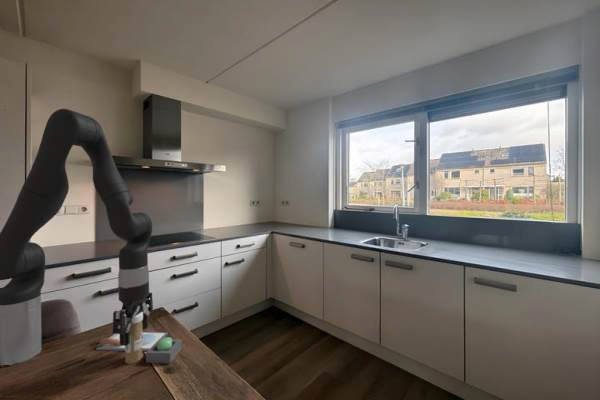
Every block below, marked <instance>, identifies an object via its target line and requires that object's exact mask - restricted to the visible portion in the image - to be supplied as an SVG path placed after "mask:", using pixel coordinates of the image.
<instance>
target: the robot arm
mask: <svg viewBox="0 0 600 400" xmlns="http://www.w3.org/2000/svg"><path fill="white" fill-rule="evenodd" d="M42 133H43V134H42V136H41V140H40V143H39V147H38V151H37V152H36V156H35V158H34V160H33V163H32V165H31V168H30V171H29V173H28V175H27V177H26V179H25V181H24V183H23V185H22V187H21V189H20V192H19V193H18V195H17V199H16V201H15V203H14V205H13V208H12V209H11V211H10V214H9V216H8V218H7V220H6V222H5V224H4V226H3V228H2V229H1V231H0V281H5V280H10V279H11V280H10V281H8V282H7V283H6V284H5V286H3V287H2V288H0V365H1V366H0V367H4V366H3V365H9V366H13V365H17V364H20V363H23V362H26V361H28V360H30V359H32V358H34V357H35V356H37V355H39V354H40V353H41V351H42V350H43V349H42V288H43V287H44V284H45V272H46V255H45V251H44V249H43V248H42V246H41V245H40V244H38V243H37V242H30V240H31V239H32V237H33V236H34V235H35V234H36V233H37V232H39V230H40V229H42V228H43V227H45V225H46V224H47V223H48V222H50V221H51V220H52V219H53V218H54V217H55V216H56V215H57V214H58V213H59V212H60V210H61V208H62V207H63V205H64V203H65V200H66V198H67V196H68V193H69V189H70V187H69V185H70V184H69V179H68V175H67V169H66V163H67V159H68V157H69V154H70V151H71V150H72V148H73V147H74V146H75V147H81V148H82V149H83V151H84V152H85V153H86V154H87V156H88V158H89V160H90V162H91V165H92V182H93V185H94V189H95V190H96V193H97V194H98V196H99V198H100V200H101V202H102V203H103V205H104V206H105V210H106V215H107V219H108V223H109V224H108V225H109V227H110V230H111V231H112V233H113V234H114V235H115V236H116V237H118V238H119V239H122V240H126V243H125V245H124V246H122V247H121V248H120V249H119V252H118V276H117V280H118V283H117V284H118V286H117V287H118V290H117V291H118V292H117V293H118V301H119V302H121V303H122V307H121V309H119V310H114V311H113V313H112V335H114V334H120V345H121V346H127V345H128V344H129V343H130V331H129V329H130V326H131V324H132V323H134V320H135V317H136V316H137V315H138V314H139V313H141V312H142V313H143V320H142V330H146V329H148V328H149V317H150V313H151V312H152V311H153V310H154V304H153V292H150V271H149V265H148V261H149V259H148V257H149V256H148V251H149V250H148V249H149V247H150V243H151V238H152V233H153V223H152V220H151V217H150V216H149V215H148V214H146V213H145V212H132V210H131V208H130V206H131V205H132V204H133V203H134V196H133V195H132V193H131V191H130V190H129V188H128V186H127V184H126V183H125V181H124V179H123V177H122V176H121V173H120V172H119V169H118V168H117V165H116V163H115V160H114V158H113V154H112V152H111V149H110V146H109V144H108V141H107V138H106V134H105V132H104V130H103V128H102V126H101V124H100V123H99V122H98V121H97V119H95V118H93V117H91V116H89V115H85V114H83V113H80V112H77V111H75V110H72V109H68V108H58V109H56V110H55V111H54V112H53V113H51V115H50V116H49V117H48V119H47V121H46V124H45V127H44V130H43V132H42ZM125 317H126V318H131V319H129V320H125ZM125 323H127V326H126V328H125Z"/></svg>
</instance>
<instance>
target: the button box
mask: <svg viewBox="0 0 600 400" xmlns="http://www.w3.org/2000/svg"><path fill="white" fill-rule="evenodd" d="M159 340H160V339H159ZM182 341H183V340H182V339H180V338H178V339H177V338H175V339H174V338H172V347H171V348H170V349H169V350H168V351H160V350H157V342H158V341H157V342H156V343H155V344H154V345H153V346H152V347H151V348H150V349H149V350H148V351H147V352H146V351H145V363H147V364H149V363H153V364H154V363H157V364H171V363H172V362H173V361H174V359H176V356H178V354H179V353H180V352H181V350H182V348H183V347H182V345H183V343H182Z"/></svg>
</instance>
